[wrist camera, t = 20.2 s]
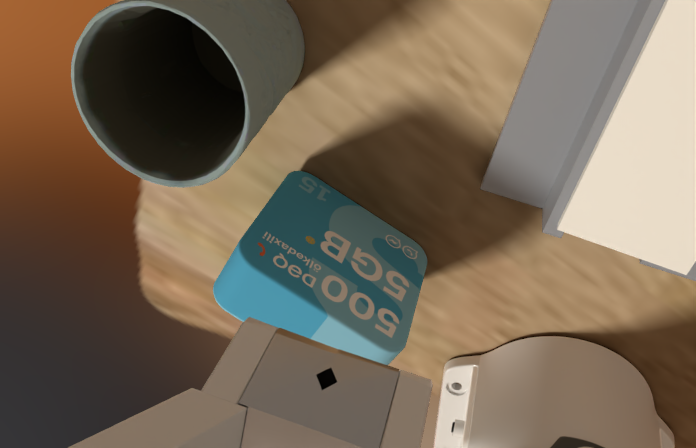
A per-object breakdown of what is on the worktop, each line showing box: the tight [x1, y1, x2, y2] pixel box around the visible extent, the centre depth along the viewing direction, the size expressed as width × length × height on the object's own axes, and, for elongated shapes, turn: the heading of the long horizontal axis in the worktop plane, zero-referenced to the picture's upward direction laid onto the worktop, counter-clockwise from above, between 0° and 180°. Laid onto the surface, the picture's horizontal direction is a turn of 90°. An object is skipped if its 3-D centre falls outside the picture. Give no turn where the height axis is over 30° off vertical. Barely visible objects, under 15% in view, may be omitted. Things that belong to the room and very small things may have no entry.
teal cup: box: [71, 0, 305, 187], centre depth 38 cm, size 10×10×12 cm
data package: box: [213, 171, 427, 365], centre depth 44 cm, size 12×4×12 cm, turn 60°
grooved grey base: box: [480, 0, 696, 281], centre depth 35 cm, size 22×16×5 cm
